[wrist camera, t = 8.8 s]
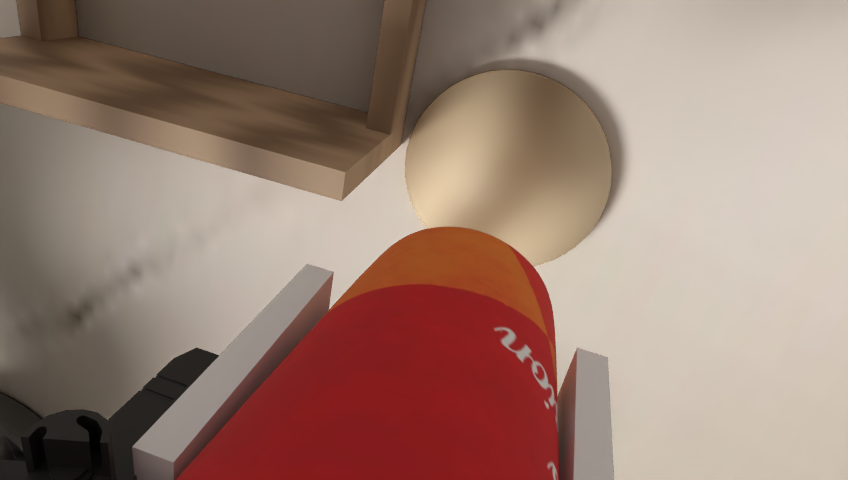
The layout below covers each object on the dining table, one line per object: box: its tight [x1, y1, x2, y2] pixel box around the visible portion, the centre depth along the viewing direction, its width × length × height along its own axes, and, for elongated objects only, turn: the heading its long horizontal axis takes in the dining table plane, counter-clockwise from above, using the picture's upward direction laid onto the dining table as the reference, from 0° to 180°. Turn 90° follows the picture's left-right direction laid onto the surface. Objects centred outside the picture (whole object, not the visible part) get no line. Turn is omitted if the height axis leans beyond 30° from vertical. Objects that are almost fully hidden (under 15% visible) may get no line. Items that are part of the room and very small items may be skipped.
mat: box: [405, 70, 612, 266], centre depth 28 cm, size 10×10×1 cm
